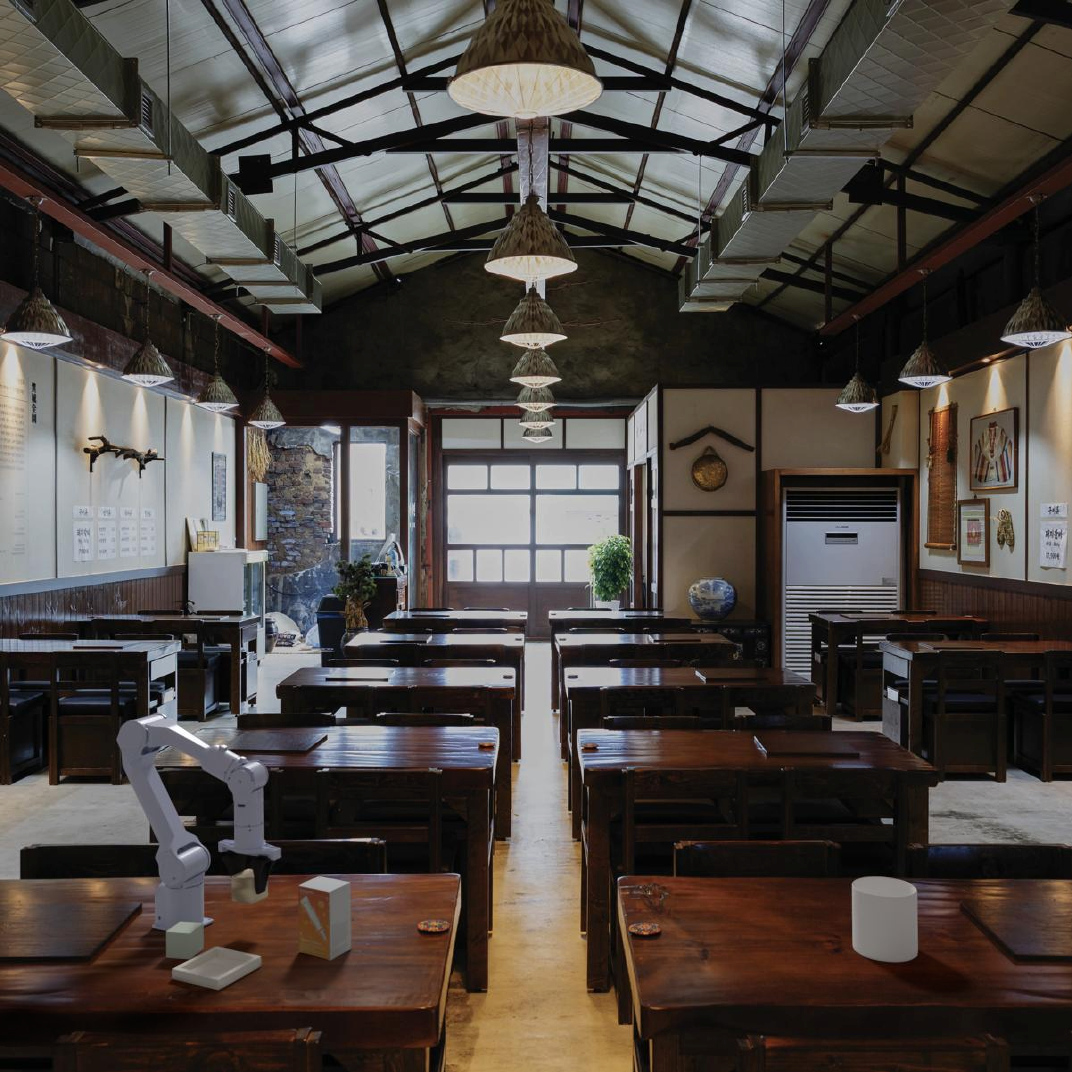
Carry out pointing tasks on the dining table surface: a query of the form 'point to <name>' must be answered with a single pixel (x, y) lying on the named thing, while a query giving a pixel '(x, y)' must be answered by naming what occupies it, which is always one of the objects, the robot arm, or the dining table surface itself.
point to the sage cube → (184, 940)
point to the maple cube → (246, 888)
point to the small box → (324, 917)
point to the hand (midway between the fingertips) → (249, 890)
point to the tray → (216, 968)
